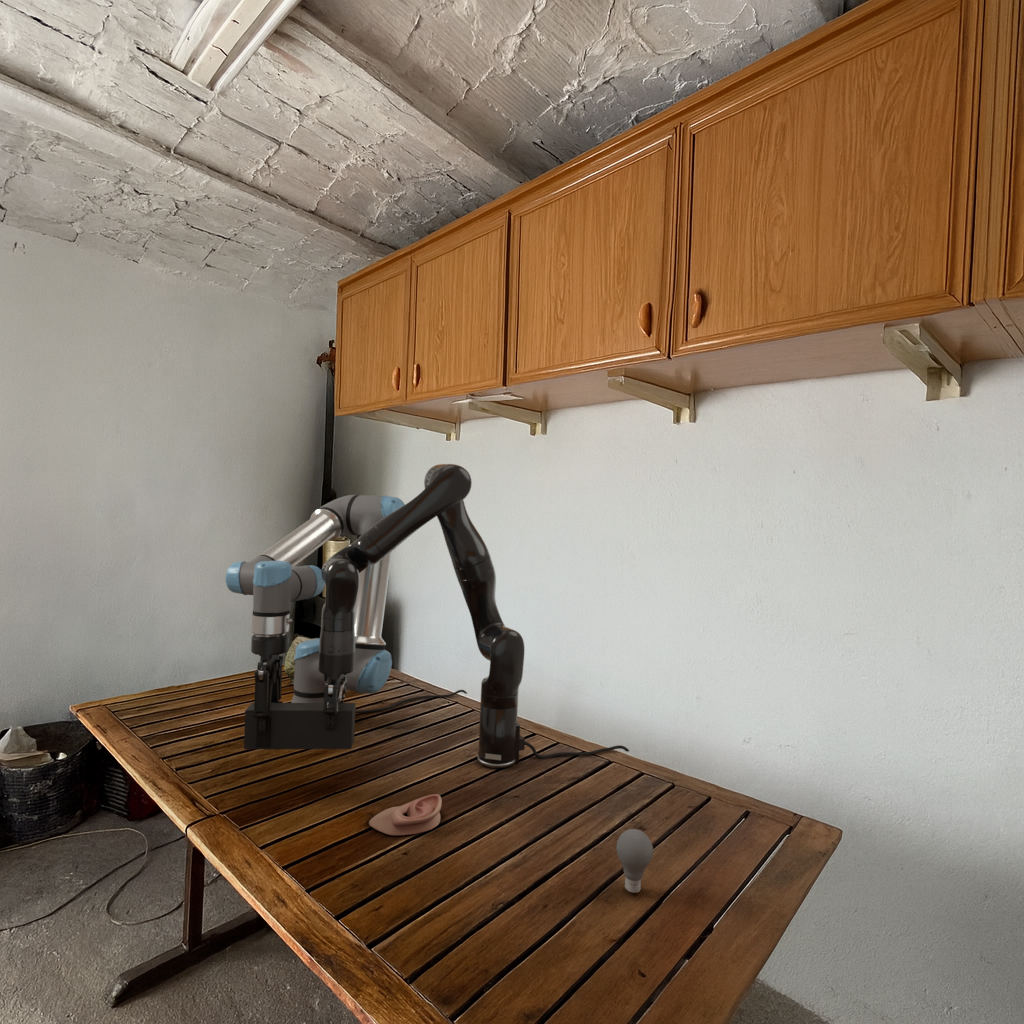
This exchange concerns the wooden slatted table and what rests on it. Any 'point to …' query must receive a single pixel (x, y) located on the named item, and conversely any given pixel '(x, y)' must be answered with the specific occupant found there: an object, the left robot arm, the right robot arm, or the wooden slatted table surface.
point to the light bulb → (634, 857)
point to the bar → (303, 727)
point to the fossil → (291, 655)
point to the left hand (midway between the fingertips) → (266, 741)
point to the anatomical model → (409, 817)
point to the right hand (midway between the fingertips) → (334, 723)
